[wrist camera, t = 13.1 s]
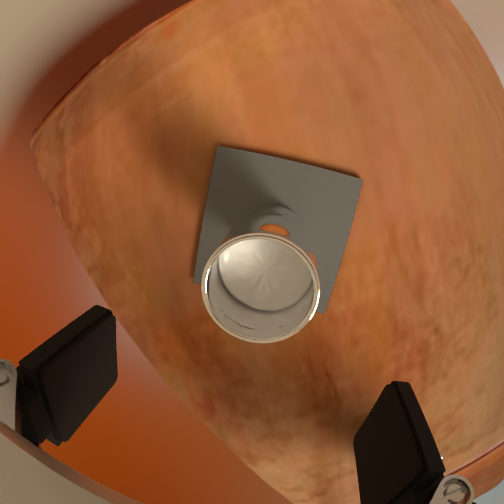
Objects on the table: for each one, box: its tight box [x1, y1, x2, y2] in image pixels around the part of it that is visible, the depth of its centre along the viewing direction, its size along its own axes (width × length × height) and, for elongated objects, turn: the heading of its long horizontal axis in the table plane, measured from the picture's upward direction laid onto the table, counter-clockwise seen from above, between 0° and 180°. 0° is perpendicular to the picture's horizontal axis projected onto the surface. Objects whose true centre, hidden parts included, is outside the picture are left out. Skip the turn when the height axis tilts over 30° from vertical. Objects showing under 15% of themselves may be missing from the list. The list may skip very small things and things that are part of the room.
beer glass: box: [201, 205, 320, 343], centre depth 23 cm, size 7×7×15 cm
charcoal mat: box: [193, 146, 363, 314], centre depth 31 cm, size 15×15×1 cm
